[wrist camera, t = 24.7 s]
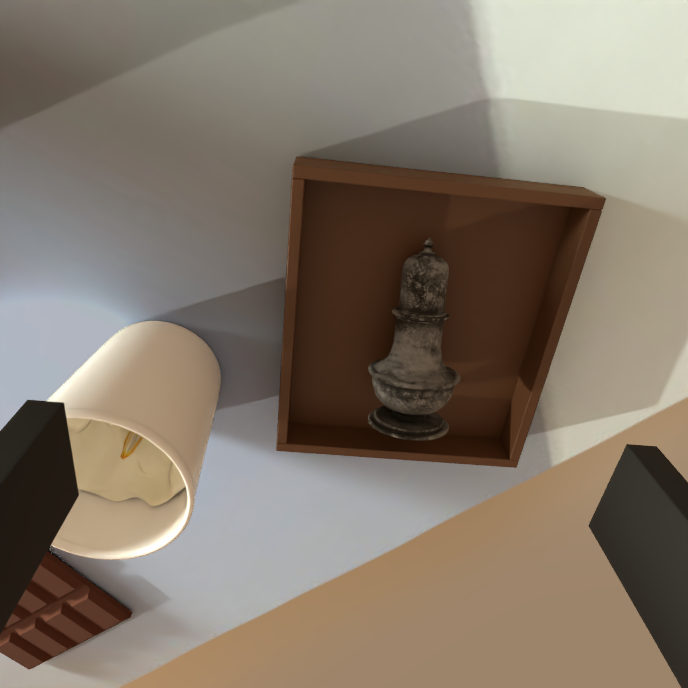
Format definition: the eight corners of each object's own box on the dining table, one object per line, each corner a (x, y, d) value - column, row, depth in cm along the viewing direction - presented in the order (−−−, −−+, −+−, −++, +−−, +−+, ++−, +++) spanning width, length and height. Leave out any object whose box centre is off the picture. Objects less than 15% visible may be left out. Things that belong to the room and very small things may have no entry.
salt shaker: (346, 422, 34) (361, 233, 30) (391, 399, 38) (409, 233, 35) (428, 452, 30) (455, 243, 27) (467, 422, 35) (493, 242, 32)
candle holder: (237, 428, 39) (202, 560, 29) (106, 427, 39) (22, 560, 29) (226, 309, 35) (180, 415, 24) (78, 307, 35) (-35, 413, 24)
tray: (504, 442, 41) (516, 467, 38) (279, 425, 39) (276, 451, 37) (583, 187, 32) (606, 198, 29) (296, 156, 30) (292, 164, 28)
